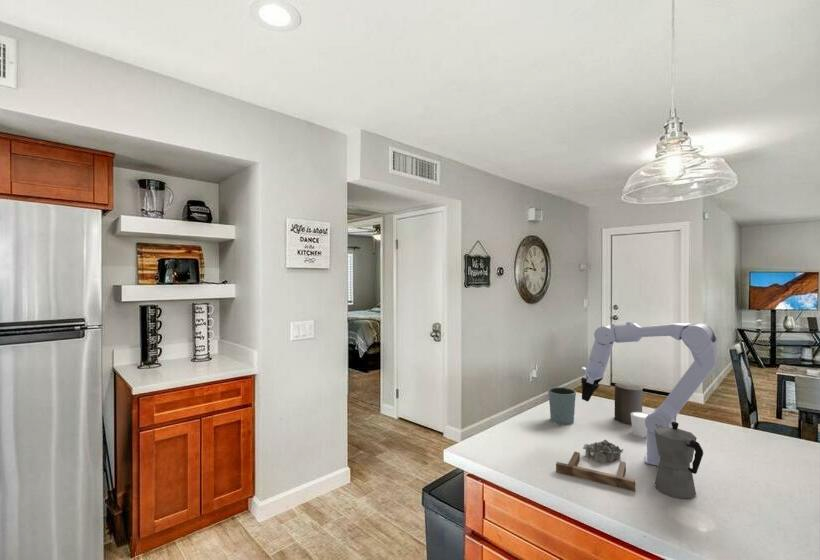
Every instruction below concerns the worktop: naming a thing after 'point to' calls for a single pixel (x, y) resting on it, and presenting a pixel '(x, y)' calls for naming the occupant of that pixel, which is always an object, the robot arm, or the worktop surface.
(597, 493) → the worktop surface
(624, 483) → the walnut bracket
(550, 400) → the teal grey cup
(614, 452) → the egg carton
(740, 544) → the worktop surface
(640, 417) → the shot glass
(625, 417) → the pillar candle
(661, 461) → the coffeepot
